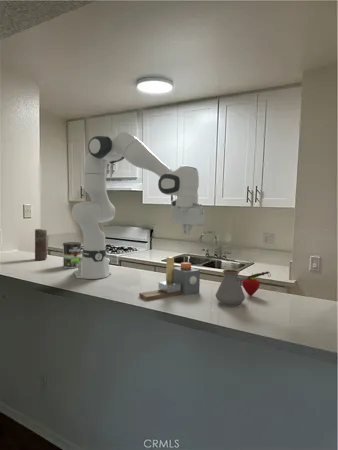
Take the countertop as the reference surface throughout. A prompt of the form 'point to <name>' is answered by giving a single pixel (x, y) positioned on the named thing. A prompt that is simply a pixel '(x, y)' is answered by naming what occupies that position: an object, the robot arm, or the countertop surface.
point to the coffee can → (71, 254)
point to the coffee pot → (232, 288)
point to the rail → (157, 294)
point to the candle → (40, 244)
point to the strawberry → (251, 285)
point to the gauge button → (186, 266)
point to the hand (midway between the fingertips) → (186, 234)
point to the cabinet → (187, 280)
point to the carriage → (170, 278)
